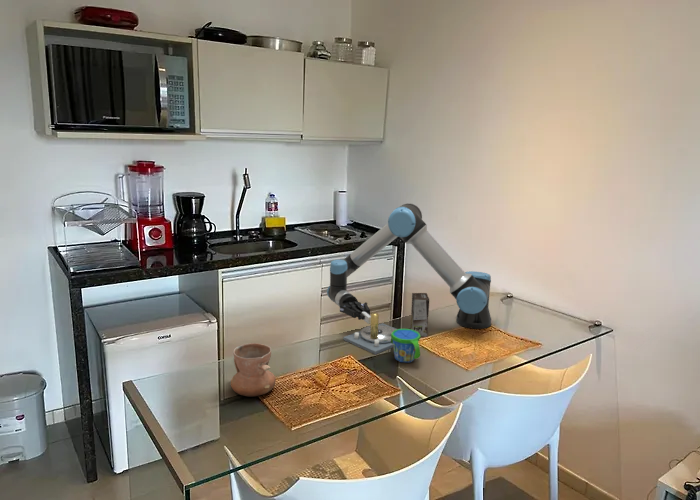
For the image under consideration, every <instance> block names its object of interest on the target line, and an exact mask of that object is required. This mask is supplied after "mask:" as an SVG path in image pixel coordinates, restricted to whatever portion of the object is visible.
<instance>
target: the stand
mask: <svg viewBox="0 0 700 500" xmlns="http://www.w3.org/2000/svg"><path fill="white" fill-rule="evenodd" d="M378 325H382V326H388V327H391V328H394V329H395V330H397V329H398V328H396V327H393V326H390V325H389V324H386V323H384V322H382V323H378ZM342 338H343V339H342V340H343V341H345V342H347V343H349V342H350V343H349V344H351V343H352V345H353V346H355V347H359V348H360V349H363V350H364V351H367V352H369V353H371V354H373V355H378V354H380V353H383V352H385V351H387V350H390V349H392V348H393V344H392V343H391V342H389V343H379V340H378V339H376V340H375V342H374V343H372V342H368V341H366V340H364V339H362V337H361V330H359V331H355V332H354V333H351V334H349V335H345V336H343V337H342Z"/></svg>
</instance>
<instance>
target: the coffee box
mask: <svg viewBox="0 0 700 500" xmlns="http://www.w3.org/2000/svg"><path fill="white" fill-rule="evenodd" d="M410 311H411V313H410V329H411V330H415V331H417V332H418V333H419V334H420V336H421V337H428V326H429V312H430V298H429V296H428V293H427V292H418V293H417V292H412V293H411V309H410Z"/></svg>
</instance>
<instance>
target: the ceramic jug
mask: <svg viewBox="0 0 700 500" xmlns="http://www.w3.org/2000/svg"><path fill="white" fill-rule="evenodd" d="M232 353H233V357H234V358H233V363H234V366H235V370H236V373H235V374H234V375H233V376H232V377H231V380H230V386H231V389H232V391H234V392H235V393H236V394H237V395H240V396H243V397H251V398H252V397H259V396H263V395H265V394H267V393H269V392H270V391H271V390H273V389H274V387H275V386H276V383H277V381H276V376H275V374H274V373H273V372H271V371H270V369H271V366H270V365H269V363H270V360H271V356H272V347H271V346H269V345H267V344H262V343H256V342H254V343H253V342H251V343H242V344H240V345H238V346H236V347H235V348H234V349H233V351H232Z"/></svg>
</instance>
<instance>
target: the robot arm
mask: <svg viewBox="0 0 700 500" xmlns="http://www.w3.org/2000/svg"><path fill="white" fill-rule="evenodd" d="M422 213H423V212H422V210H421V209H420V208H419V207H418V206H417V205H415V204H413V203H404V204H402V205H400V206H398V207H396V208H395V209H393V211H392V212H391V213H390V214H389V216H388V220H387V222H386V224H385V225H384V226H382V227H380V229H379V230H378V231H377V232H375V233H374V234H373V235H371V236H370V237H369V238H368V239H366V240H365V241H364V242H363V243H362V244H361V245H360V246H358V247H357V248H356V249H355V250H353V251H352V252H351V253H350V254H349V255H347V256H346V257H344V259H335V260H334V259H333V260H331V261H330V264H329V265H330V267H329V286H328V287H327V289H326V295H327V297H328V298H329V299H330V301H331V302H333V303H334V304H335V305H337V306H338V307H339V313H342V314H345V315H347V316H349V317H351V318H353V319H356V318H357V320H360V321H361V320H363V321H364V322H365V323H366V324H368V325H371V308H370V307H369V306H368V302H363V303H362V302H360V301H359V300H358V299H357V297H356V296H354V295H353V294H352V293H350V292H349V291H348V290H347V286H348V285H347V284H348V277H349V276H351V275H352V274H353V273H355V272H356V271H357V270H358V269H359V268H360V267H362V266H363V265H364V264H366V263H367V262H368V261H369V260H370V259H372V258H373V257H375V255H377V254H379V252H380V251H383V249H384V248H385V247H387V246H389V244H391V242H393V241H395V240H396V239H397V238H400V239H401V240H402V241H403V242H404V243H405V244H410V245H411V246H412V247H414V249H415V250H416V251H417V252H418V253H419V254H420V256H421V257H422V258H423V259H424V260H425V261H426V262H427V263H428V264H429V266H430V267H431V268H432V269H433V270H434V271H435V272H436V274H438V276H440V278H441V279H442V280H443V281H444V283H445V284H446V285H447V286H449V294H451V295H452V297H453V298H454V299H455V301H456V305H457V306H458V308H459V309H458V312H457V314H456V317H455V318H456V321H455V322H456V323H457V324H458V325H460V326H462V327H464V328H468V329H474V330H475V329H476V330H477V329H478V330H480V329H487V328H489V327H491V325H492V317H491V312H490V309H489V305H490V304H489V303H490V293H491V283H492V278H491V277H492V276H491V274H489V273H487V272H482V271H473V270H472V271H464V270H463V269H462V268H461V266H459V264H458V263H457V262H456V261H455V259H453V257H452V256H451V255H449V253H448V252H447V251H446V250H445V249H444V248H443V247H442V246H441V244H440V243H439V242H438V241H437V240H436V239H435V238H434V236H432V234H431V233H430V232H429V231H428V230H427V228H428V224H427V223H426V222H425V221H424V220H423V215H422Z"/></svg>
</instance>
